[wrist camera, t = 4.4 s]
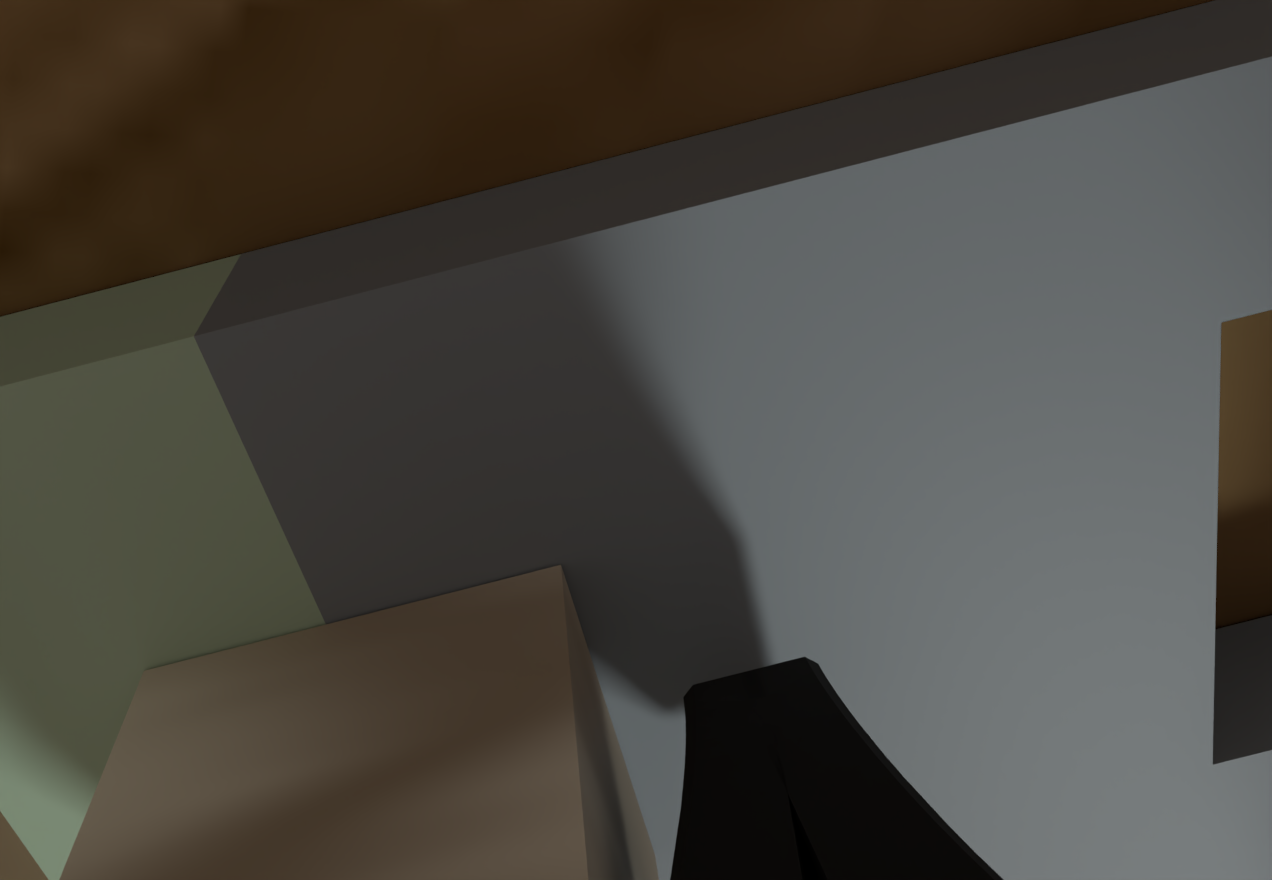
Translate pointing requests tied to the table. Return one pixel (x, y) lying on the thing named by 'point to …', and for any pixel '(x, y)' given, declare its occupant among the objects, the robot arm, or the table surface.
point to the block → (377, 754)
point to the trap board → (720, 447)
